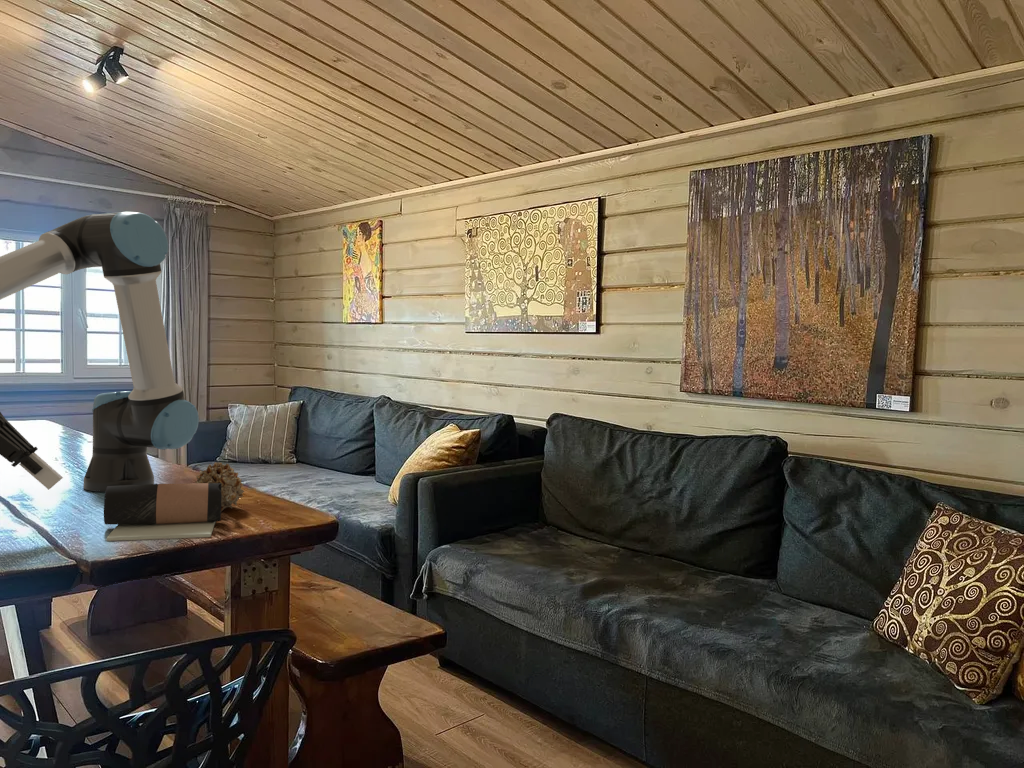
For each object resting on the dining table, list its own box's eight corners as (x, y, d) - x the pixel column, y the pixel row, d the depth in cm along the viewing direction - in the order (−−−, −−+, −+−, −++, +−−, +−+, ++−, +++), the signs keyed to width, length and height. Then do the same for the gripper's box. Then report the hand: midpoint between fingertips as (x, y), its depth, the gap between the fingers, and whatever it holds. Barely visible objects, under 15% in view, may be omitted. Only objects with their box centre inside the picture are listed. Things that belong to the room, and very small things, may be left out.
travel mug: (107, 528, 139) (220, 524, 147) (102, 522, 133) (221, 518, 140) (110, 488, 142) (221, 486, 149) (105, 481, 135) (222, 479, 143)
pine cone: (185, 504, 161) (186, 459, 161) (230, 501, 167) (231, 457, 166) (214, 525, 143) (215, 474, 143) (263, 520, 149) (264, 471, 149)
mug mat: (106, 540, 129) (106, 537, 129) (120, 524, 142) (120, 521, 142) (210, 536, 135) (210, 533, 135) (215, 521, 147) (215, 518, 147)
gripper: (-57, 401, 131) (48, 491, 137) (-90, 406, 119) (27, 505, 125) (-22, 372, 133) (81, 463, 139) (-50, 374, 121) (64, 474, 127)
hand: (55, 483), depth 132 cm, fingers closed
